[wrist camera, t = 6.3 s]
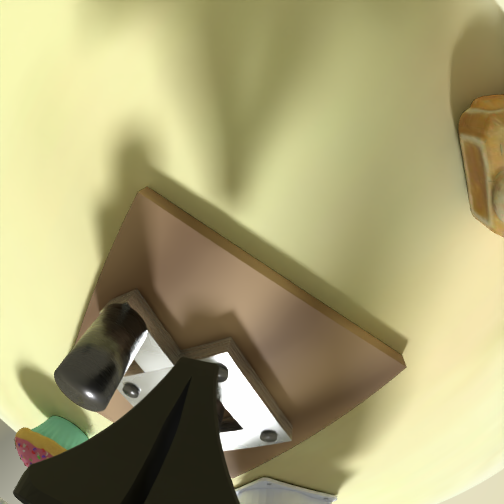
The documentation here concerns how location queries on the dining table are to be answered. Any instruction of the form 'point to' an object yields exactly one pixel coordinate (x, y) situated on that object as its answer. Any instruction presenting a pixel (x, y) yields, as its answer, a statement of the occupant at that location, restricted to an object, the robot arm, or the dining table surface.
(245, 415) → the flange
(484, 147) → the topped waffle
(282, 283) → the board
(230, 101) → the dining table surface
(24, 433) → the cupcake
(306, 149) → the dining table surface
